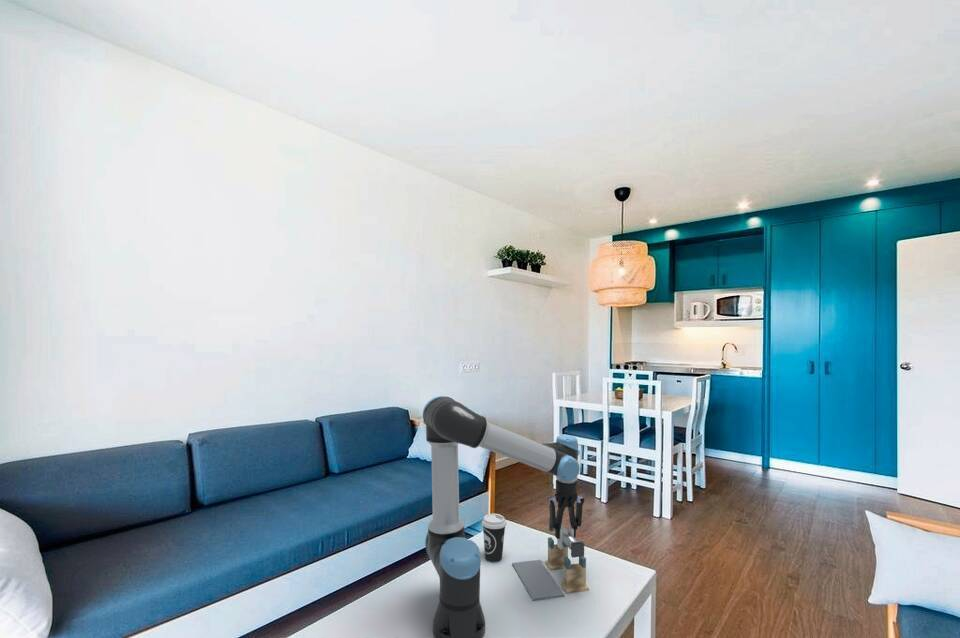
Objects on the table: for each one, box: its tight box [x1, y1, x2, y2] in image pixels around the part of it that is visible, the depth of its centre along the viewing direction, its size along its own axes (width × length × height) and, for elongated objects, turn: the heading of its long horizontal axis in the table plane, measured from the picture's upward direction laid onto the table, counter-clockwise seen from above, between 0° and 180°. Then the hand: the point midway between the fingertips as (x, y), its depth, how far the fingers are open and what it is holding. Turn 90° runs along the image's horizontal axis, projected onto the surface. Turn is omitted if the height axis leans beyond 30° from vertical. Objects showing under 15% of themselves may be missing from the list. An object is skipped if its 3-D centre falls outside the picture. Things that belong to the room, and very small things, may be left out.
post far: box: [544, 536, 569, 571], centre depth 157 cm, size 8×5×10 cm, turn 103°
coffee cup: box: [481, 513, 507, 563], centre depth 162 cm, size 10×10×15 cm
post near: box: [560, 555, 590, 594], centre depth 144 cm, size 8×5×10 cm, turn 103°
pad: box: [511, 559, 566, 602], centre depth 148 cm, size 11×22×1 cm, turn 13°
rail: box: [548, 517, 585, 558], centre depth 151 cm, size 20×4×4 cm, turn 13°
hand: (565, 546), depth 150 cm, fingers closed on rail, 4 cm apart
